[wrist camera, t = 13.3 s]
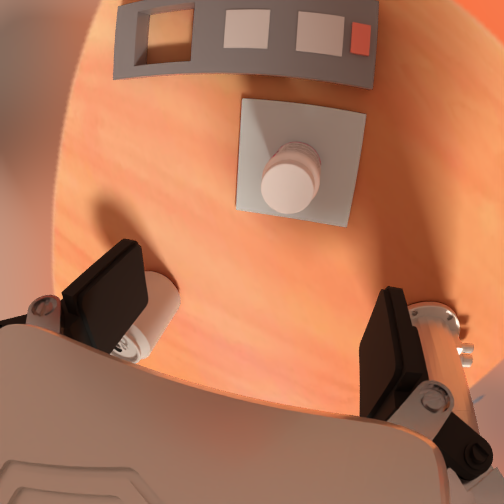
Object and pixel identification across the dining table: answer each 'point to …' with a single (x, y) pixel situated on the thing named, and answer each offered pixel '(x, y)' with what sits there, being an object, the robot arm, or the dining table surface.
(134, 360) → the can
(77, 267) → the dining table surface
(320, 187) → the mat
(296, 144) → the pill bottle
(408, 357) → the robot arm
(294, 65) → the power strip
